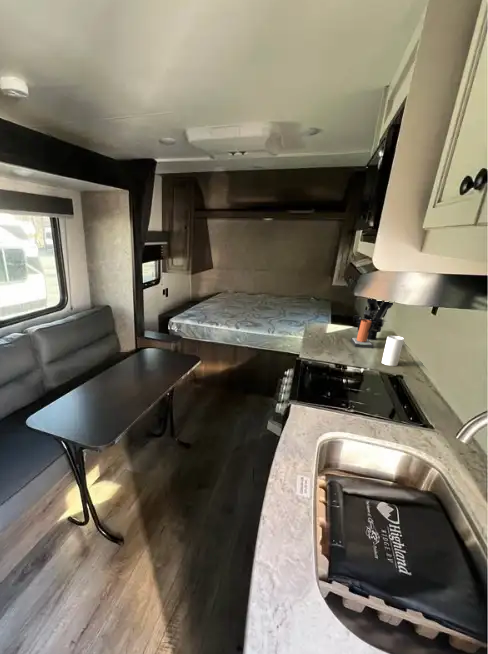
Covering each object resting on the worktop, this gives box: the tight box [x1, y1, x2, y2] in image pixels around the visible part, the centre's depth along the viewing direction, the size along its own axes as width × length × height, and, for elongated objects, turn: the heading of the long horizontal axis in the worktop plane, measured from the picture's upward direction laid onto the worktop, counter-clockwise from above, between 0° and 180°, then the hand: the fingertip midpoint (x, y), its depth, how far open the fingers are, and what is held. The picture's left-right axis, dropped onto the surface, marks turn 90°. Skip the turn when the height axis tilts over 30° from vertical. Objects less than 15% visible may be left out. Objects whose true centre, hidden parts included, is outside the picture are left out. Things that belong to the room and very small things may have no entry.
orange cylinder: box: [356, 320, 372, 342], centre depth 224 cm, size 6×6×14 cm
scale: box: [350, 337, 374, 349], centre depth 229 cm, size 15×11×3 cm
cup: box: [381, 335, 405, 367], centre depth 192 cm, size 8×8×16 cm
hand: (363, 331), depth 223 cm, fingers closed on orange cylinder, 6 cm apart
